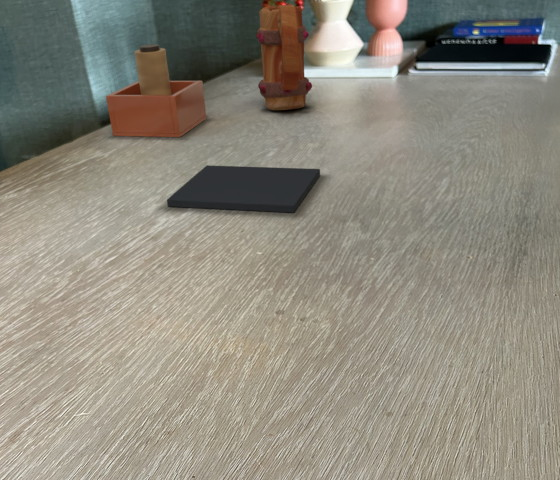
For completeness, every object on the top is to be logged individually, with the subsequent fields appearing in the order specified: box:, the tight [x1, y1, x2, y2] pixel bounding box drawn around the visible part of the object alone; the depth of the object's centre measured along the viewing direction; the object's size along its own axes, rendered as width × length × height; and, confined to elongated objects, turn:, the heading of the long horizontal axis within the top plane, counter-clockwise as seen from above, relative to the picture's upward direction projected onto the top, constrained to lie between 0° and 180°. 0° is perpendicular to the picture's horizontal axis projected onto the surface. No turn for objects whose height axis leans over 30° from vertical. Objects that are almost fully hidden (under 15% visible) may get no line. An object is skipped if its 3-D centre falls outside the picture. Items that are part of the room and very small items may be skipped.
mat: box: [166, 165, 321, 214], centre depth 74 cm, size 14×12×1 cm
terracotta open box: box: [105, 80, 207, 138], centre depth 99 cm, size 11×11×6 cm
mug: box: [255, 4, 313, 111], centre depth 100 cm, size 15×8×15 cm, turn 6°
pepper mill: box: [133, 43, 172, 95], centre depth 97 cm, size 4×4×11 cm
